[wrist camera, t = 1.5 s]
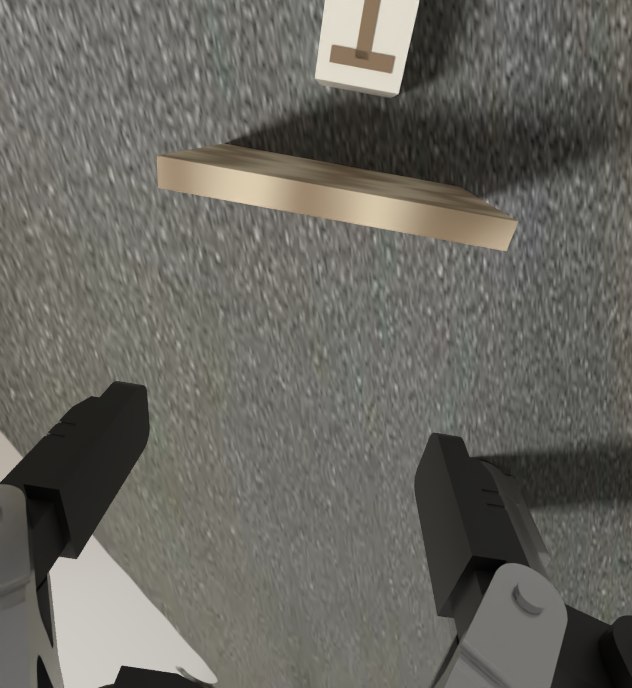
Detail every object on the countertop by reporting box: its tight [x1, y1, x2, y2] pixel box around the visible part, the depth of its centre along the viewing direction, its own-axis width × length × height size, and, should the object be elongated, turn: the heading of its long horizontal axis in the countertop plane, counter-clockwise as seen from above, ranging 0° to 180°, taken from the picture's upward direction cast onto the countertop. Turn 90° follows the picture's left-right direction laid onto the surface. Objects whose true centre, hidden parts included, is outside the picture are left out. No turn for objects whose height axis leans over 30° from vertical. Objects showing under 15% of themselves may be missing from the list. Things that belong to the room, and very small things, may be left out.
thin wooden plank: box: [157, 144, 518, 251], centre depth 25 cm, size 18×2×12 cm, turn 81°
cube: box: [315, 0, 419, 98], centre depth 24 cm, size 5×5×5 cm
